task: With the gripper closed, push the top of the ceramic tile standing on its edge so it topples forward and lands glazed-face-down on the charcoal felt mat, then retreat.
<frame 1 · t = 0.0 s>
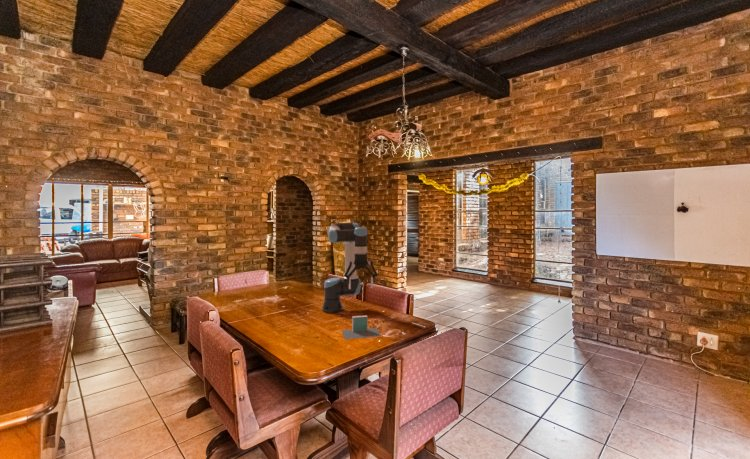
hand: (360, 288, 202), 28 cm above the table, fingers open, 13 cm apart
tile: (359, 330, 206), point 1 cm above the table, touching mat
mat: (361, 334, 202), on the table
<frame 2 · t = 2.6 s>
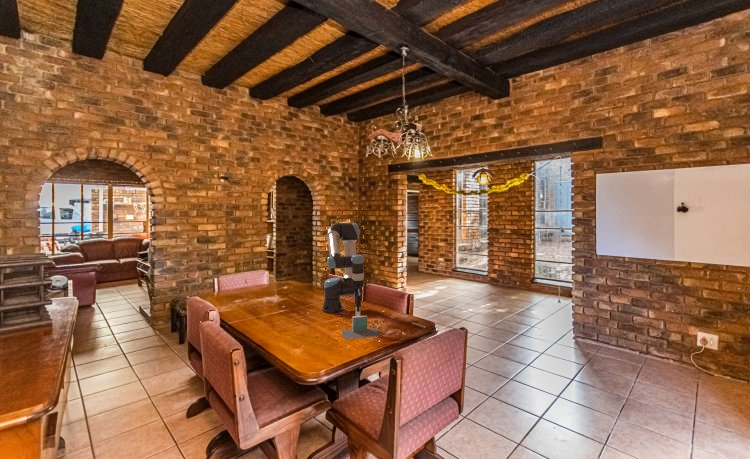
hand: (357, 316, 213), 7 cm above the table, fingers closed
nothing on the table moved.
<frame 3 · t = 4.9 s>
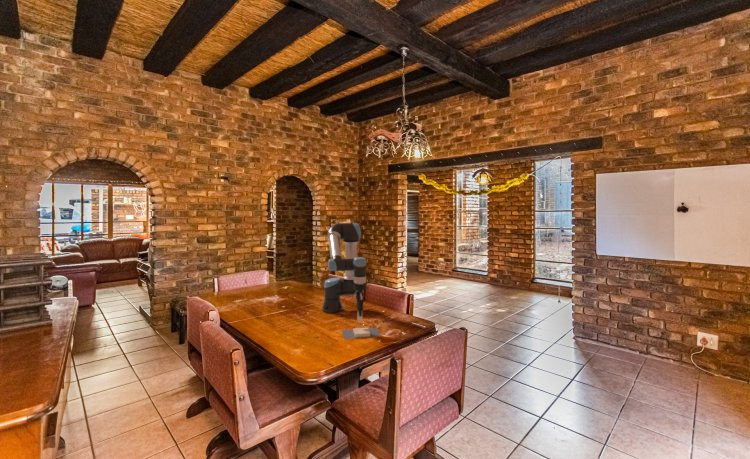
hand: (359, 320, 206), 7 cm above the table, fingers closed
tile: (360, 329, 205), point 2 cm above the table, tilted 90°, touching mat
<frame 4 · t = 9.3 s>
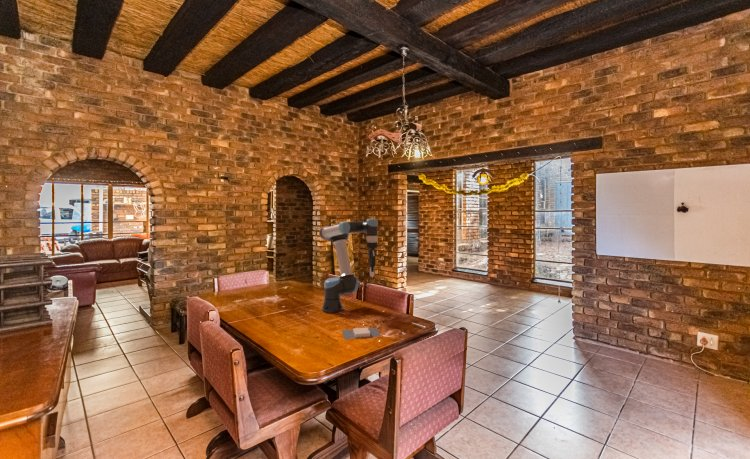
hand: (372, 276, 228), 29 cm above the table, fingers closed
nothing on the table moved.
at the end: tile tilted 90°; tile inside the target area on the mat (3.3 cm from its centre), point 1.7 cm above the mat's base; tile point 1.7 cm above the table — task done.
